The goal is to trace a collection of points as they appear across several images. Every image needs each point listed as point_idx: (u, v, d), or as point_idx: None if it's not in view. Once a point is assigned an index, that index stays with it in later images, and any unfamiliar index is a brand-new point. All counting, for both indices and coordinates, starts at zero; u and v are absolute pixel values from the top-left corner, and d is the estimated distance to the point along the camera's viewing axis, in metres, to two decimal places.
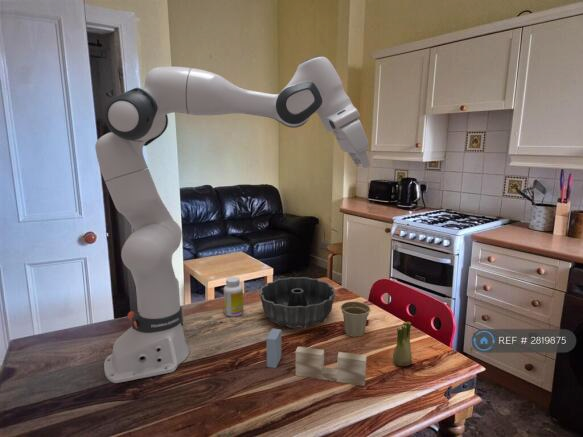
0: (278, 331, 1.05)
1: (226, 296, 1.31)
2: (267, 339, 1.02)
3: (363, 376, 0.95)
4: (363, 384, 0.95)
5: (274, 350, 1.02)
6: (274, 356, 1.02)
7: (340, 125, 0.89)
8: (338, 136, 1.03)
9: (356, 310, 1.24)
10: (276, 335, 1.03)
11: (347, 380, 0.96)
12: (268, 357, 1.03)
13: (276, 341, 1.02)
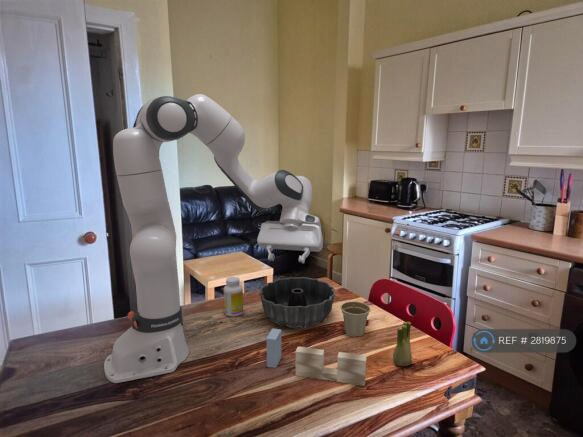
0: (278, 331, 1.05)
1: (226, 296, 1.31)
2: (267, 339, 1.02)
3: (363, 376, 0.95)
4: (363, 384, 0.95)
5: (274, 350, 1.02)
6: (274, 356, 1.02)
7: (318, 223, 1.15)
8: (273, 230, 1.17)
9: (356, 310, 1.24)
10: (276, 335, 1.03)
11: (347, 380, 0.96)
12: (268, 357, 1.03)
13: (276, 341, 1.02)
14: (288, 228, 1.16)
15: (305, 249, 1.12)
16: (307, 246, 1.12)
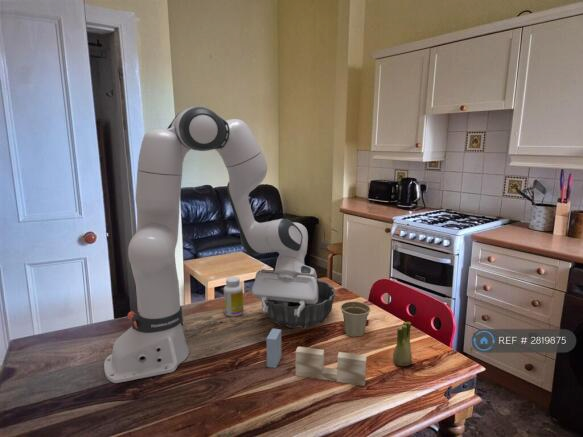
0: (278, 331, 1.05)
1: (226, 296, 1.31)
2: (267, 339, 1.02)
3: (363, 376, 0.95)
4: (363, 384, 0.95)
5: (274, 350, 1.02)
6: (274, 356, 1.02)
7: (314, 275, 1.13)
8: (268, 281, 1.15)
9: (356, 310, 1.24)
10: (276, 335, 1.03)
11: (347, 380, 0.96)
12: (268, 357, 1.03)
13: (276, 341, 1.02)
14: (283, 279, 1.14)
15: (300, 302, 1.10)
16: (302, 299, 1.10)
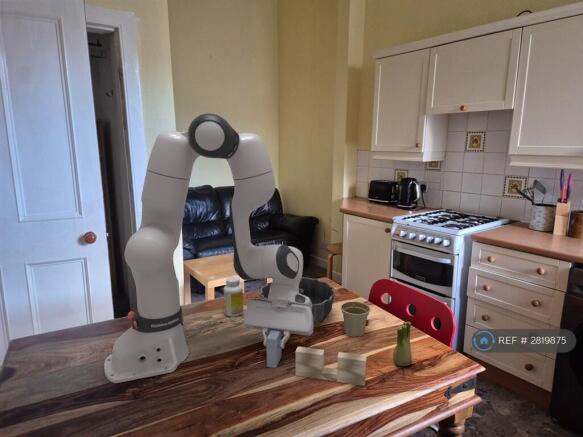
0: (278, 331, 1.05)
1: (226, 296, 1.31)
2: (267, 339, 1.02)
3: (363, 376, 0.95)
4: (363, 384, 0.95)
5: (274, 350, 1.02)
6: (274, 356, 1.02)
7: (309, 304, 1.07)
8: (260, 310, 1.09)
9: (356, 310, 1.24)
10: (276, 335, 1.03)
11: (347, 380, 0.96)
12: (268, 357, 1.03)
13: (276, 341, 1.02)
14: (276, 308, 1.08)
15: (285, 333, 1.05)
16: (296, 331, 1.04)
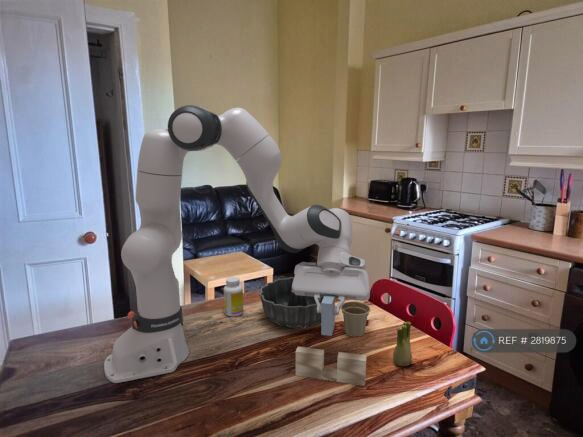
0: (332, 296, 0.96)
1: (226, 296, 1.31)
2: (322, 304, 0.92)
3: (363, 376, 0.95)
4: (363, 384, 0.95)
5: (330, 316, 0.93)
6: (330, 322, 0.93)
7: (364, 267, 0.98)
8: (310, 275, 1.00)
9: (356, 310, 1.24)
10: (331, 300, 0.94)
11: (347, 380, 0.96)
12: (323, 324, 0.94)
13: (332, 306, 0.93)
14: (328, 272, 0.99)
15: (340, 298, 0.95)
16: (353, 295, 0.95)
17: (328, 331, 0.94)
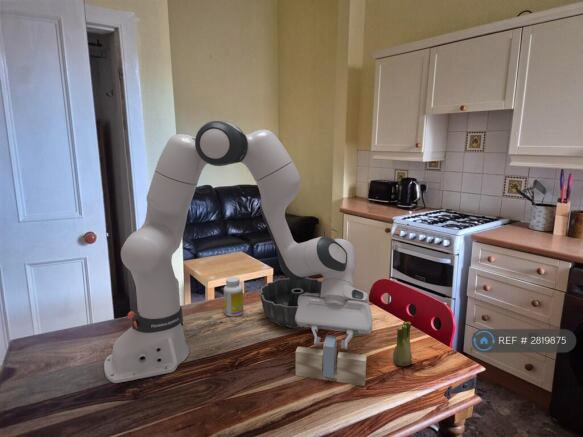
0: (334, 338, 0.98)
1: (226, 296, 1.31)
2: (324, 347, 0.94)
3: (363, 376, 0.95)
4: (363, 384, 0.95)
5: (332, 358, 0.94)
6: (331, 365, 0.95)
7: (367, 300, 0.99)
8: (313, 306, 1.01)
9: None
10: (333, 342, 0.96)
11: (347, 380, 0.96)
12: (325, 366, 0.95)
13: (333, 349, 0.94)
14: (331, 305, 1.00)
15: (348, 332, 0.96)
16: (355, 329, 0.96)
17: (330, 373, 0.95)
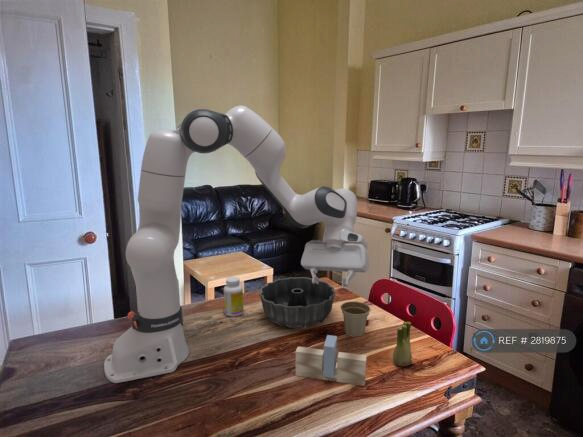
0: (334, 338, 0.98)
1: (226, 296, 1.31)
2: (324, 347, 0.94)
3: (363, 376, 0.95)
4: (363, 384, 0.95)
5: (332, 359, 0.94)
6: (332, 365, 0.95)
7: (362, 242, 1.06)
8: (316, 251, 1.12)
9: (356, 310, 1.24)
10: (333, 342, 0.96)
11: (347, 380, 0.96)
12: (325, 367, 0.95)
13: (334, 349, 0.94)
14: (331, 248, 1.10)
15: (349, 271, 1.05)
16: (351, 268, 1.05)
17: (330, 373, 0.95)
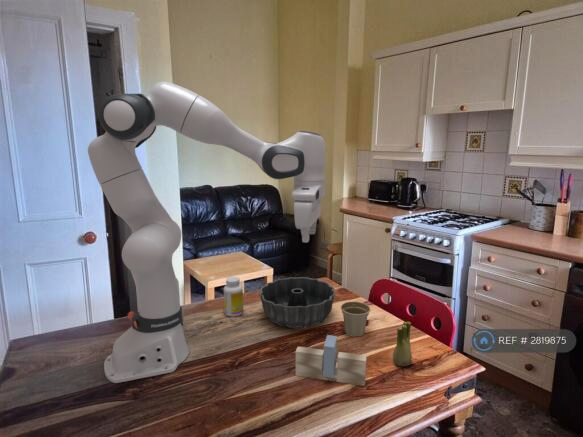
0: (334, 338, 0.98)
1: (226, 296, 1.31)
2: (324, 347, 0.94)
3: (363, 376, 0.95)
4: (363, 384, 0.95)
5: (332, 359, 0.94)
6: (332, 365, 0.95)
7: (295, 199, 0.99)
8: None
9: (356, 310, 1.24)
10: (333, 342, 0.96)
11: (347, 380, 0.96)
12: (325, 367, 0.95)
13: (334, 349, 0.94)
14: None
15: None
16: None
17: (330, 373, 0.95)
